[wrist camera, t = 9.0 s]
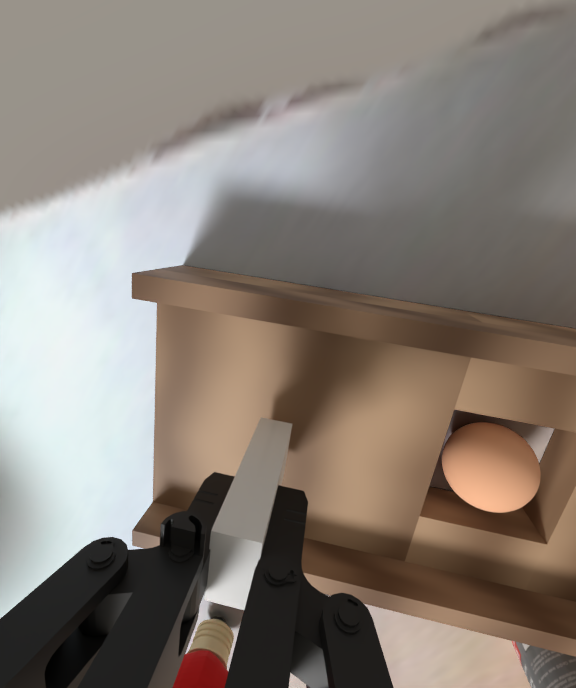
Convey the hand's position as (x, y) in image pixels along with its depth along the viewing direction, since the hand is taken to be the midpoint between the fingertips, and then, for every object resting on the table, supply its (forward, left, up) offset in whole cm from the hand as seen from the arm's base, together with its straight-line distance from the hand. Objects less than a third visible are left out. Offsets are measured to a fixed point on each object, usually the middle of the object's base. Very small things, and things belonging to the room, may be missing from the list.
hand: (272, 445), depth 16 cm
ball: (+10, 0, -3) cm, 11 cm away
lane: (+6, 0, -3) cm, 7 cm away
